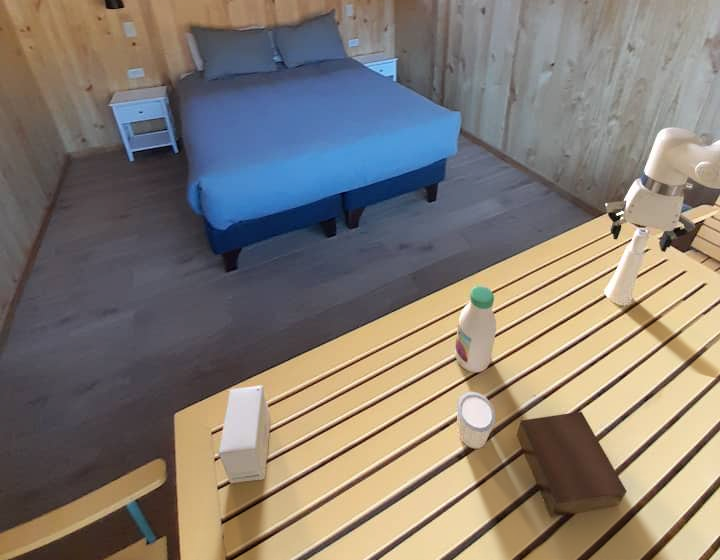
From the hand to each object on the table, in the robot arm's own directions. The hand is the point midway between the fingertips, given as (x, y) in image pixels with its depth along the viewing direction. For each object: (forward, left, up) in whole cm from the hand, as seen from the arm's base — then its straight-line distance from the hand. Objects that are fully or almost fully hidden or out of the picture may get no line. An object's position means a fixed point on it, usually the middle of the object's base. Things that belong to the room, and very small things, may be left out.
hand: (637, 241), depth 95 cm
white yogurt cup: (+28, +47, -19) cm, 58 cm away
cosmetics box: (+65, +67, -19) cm, 95 cm away
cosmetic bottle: (0, 0, -19) cm, 19 cm away
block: (+12, +46, -18) cm, 51 cm away
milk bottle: (+31, +32, -19) cm, 48 cm away
